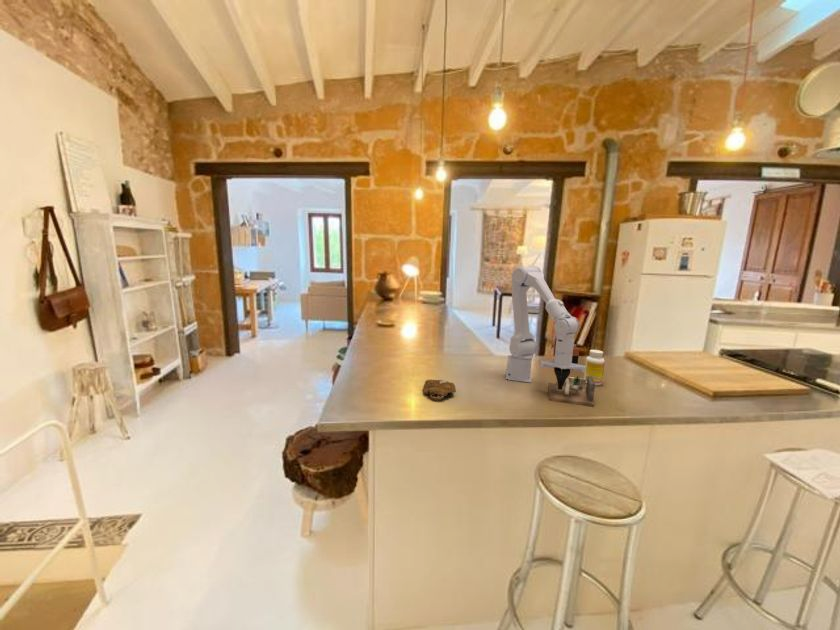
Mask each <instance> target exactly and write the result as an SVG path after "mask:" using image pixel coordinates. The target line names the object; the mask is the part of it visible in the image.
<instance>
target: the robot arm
mask: <svg viewBox="0 0 840 630" xmlns="http://www.w3.org/2000/svg"><path fill="white" fill-rule="evenodd" d="M544 277H545V274H544V272H543V271H542V270H541V268H540V267H539V266H537V265H535V266H520V265H519V266H517V267H515V268H514V270H513V271H512V273H511V281H512V283H511V297H512V298H511V301H512V310H513V311H512V312H513V322H514V334H513V335H512V336H511V337H510V339H509V340H510V344H509V352H510V353H509V355H507V361H506V368H505V380H507V379H508V380H507V381H514V382H515V381H516V382H521V383H522V382H523V383H532V375H531V373H532V363H533V362H532V361H533V358H534V355H535V354H536V353H537V350H538V344H537V341H536V340H535V338H536V337H535V335H534V334H533V333H532V332H531V331H530V321H529V311H528V309H529V308H528V299H527V292H528V291H529V289H530V288H531V287H532V288H534V290H536V292H537V293H538V295H539V296H540V297H541V299H542V300H543V301H544V303H545V310H546V312H547V313H548V315H549V316H550V318H551V320H552V321H553V323H554V324H553V329H554V332H555V337H556V341H555V348H554V350H555V352H554V360H540V368H549V369H550V368H552V369H553V372H554V374H555V377H556V378H557V381H558V389H561V390H562V387H563V385H564V382H565V380H566V379H567V377H570V374H571V371H574V372H575V371H577V372H581V373H585V365H583V364H579V363H578V364H574V363H572V355H573V346H574V344H575V334H576V333H577V332H578V331H579V329H580V322H579V320H578V318H577V317H575V316H572V315H571V314H570V312H569V311H568V310H567V309H566V307H565V304H564V302H563V301H562V300H560V299H557V298H555V296H554V294H553V292H552V291H551V289H550V288H549V286H548V284H547V281H546V280H545V278H544Z"/></svg>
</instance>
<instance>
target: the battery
mask: <svg viewBox="0 0 840 630" xmlns="http://www.w3.org/2000/svg"><path fill="white" fill-rule="evenodd" d="M579 354H580V348H579V346H577V344H575V343H574V346H573V355H572V363H574V364H579V356H580V355H579Z"/></svg>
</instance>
